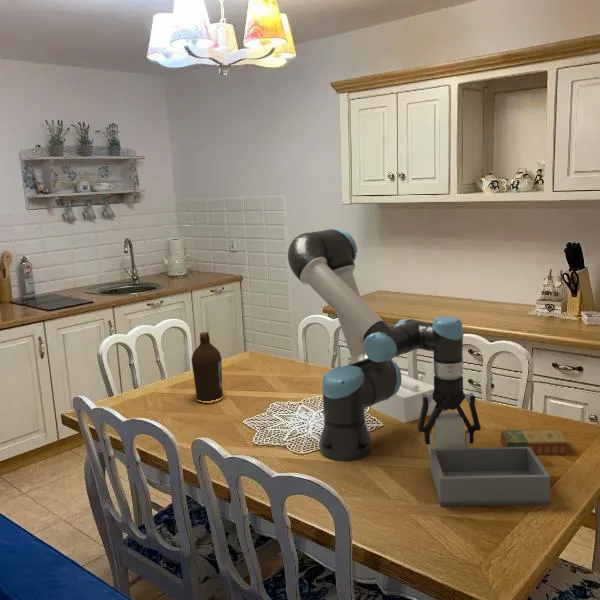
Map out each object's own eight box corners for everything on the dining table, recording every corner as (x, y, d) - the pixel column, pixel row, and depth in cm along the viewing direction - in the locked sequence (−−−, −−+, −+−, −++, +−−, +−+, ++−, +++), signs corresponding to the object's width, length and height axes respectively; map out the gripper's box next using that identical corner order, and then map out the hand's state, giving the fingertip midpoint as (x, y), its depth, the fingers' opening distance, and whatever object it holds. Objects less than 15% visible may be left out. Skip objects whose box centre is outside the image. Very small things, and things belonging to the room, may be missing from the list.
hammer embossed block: (388, 392, 222) (387, 363, 220) (438, 412, 201) (438, 380, 199) (356, 402, 215) (355, 372, 213) (405, 423, 194) (404, 390, 192)
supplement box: (463, 466, 164) (463, 421, 161) (435, 465, 165) (434, 420, 163) (462, 454, 171) (462, 411, 168) (435, 453, 172) (434, 410, 170)
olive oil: (196, 406, 219) (189, 338, 214) (194, 396, 229) (188, 331, 224) (226, 402, 221) (220, 334, 216) (223, 393, 231) (217, 328, 226)
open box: (440, 506, 145) (440, 478, 144) (430, 473, 161) (430, 448, 159) (549, 504, 143) (550, 476, 142) (529, 471, 159) (529, 446, 157)
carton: (567, 456, 167) (568, 441, 166) (506, 456, 169) (506, 441, 168) (558, 442, 175) (559, 428, 174) (500, 442, 177) (500, 429, 176)
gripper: (408, 381, 161) (410, 461, 165) (493, 378, 159) (493, 459, 163) (405, 372, 168) (407, 449, 172) (486, 369, 166) (486, 447, 171)
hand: (449, 454), depth 168 cm, fingers open, 9 cm apart
